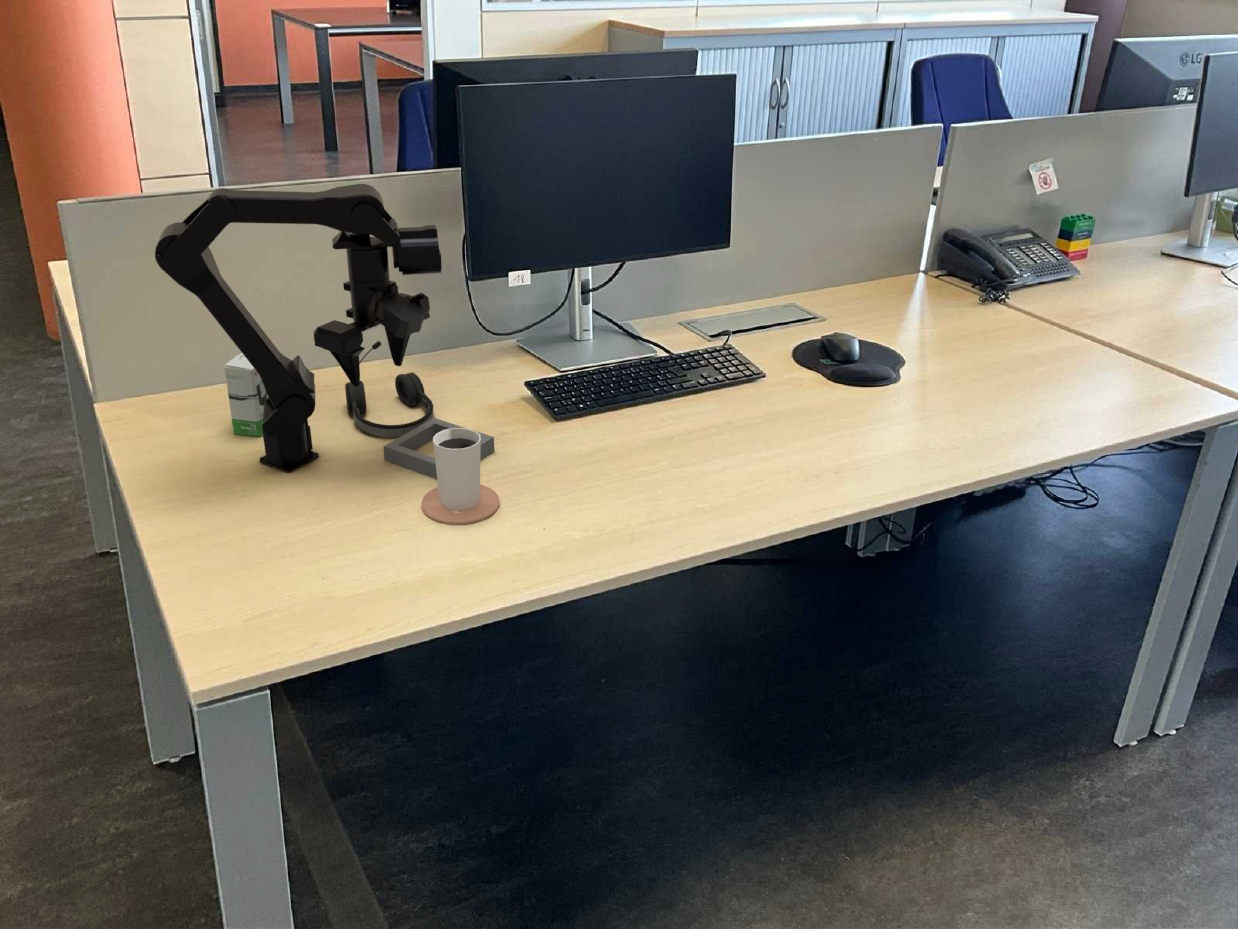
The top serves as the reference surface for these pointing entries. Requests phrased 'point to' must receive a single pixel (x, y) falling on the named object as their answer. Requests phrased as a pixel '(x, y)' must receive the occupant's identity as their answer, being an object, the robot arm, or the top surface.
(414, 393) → the headset
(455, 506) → the grey cup
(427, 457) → the cup holder
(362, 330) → the robot arm
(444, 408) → the top surface
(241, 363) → the ink box
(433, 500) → the coaster
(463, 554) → the top surface
